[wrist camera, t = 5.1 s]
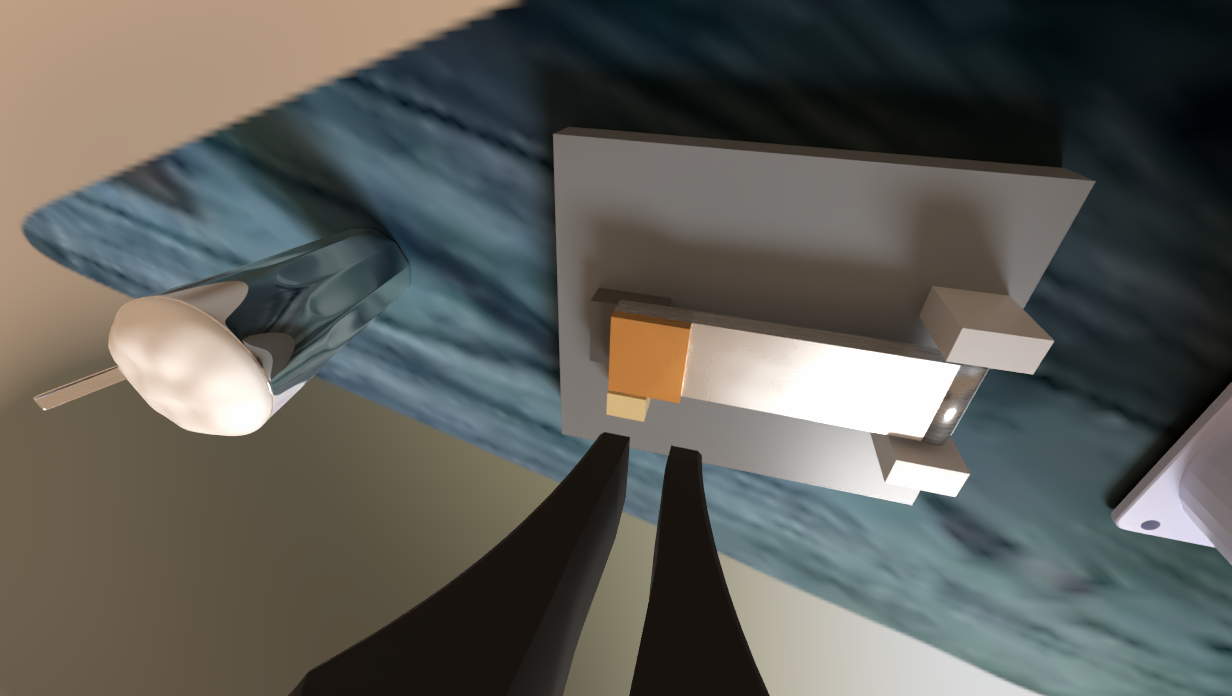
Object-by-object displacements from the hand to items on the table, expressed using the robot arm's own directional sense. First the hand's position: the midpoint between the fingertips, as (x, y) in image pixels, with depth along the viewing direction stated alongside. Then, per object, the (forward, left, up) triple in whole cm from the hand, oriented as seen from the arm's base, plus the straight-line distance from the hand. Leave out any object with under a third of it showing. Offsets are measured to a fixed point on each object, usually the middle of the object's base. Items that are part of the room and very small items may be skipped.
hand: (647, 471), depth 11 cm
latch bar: (-3, 0, -6) cm, 7 cm away
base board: (-2, 0, -8) cm, 9 cm away
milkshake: (+14, 0, -8) cm, 16 cm away
